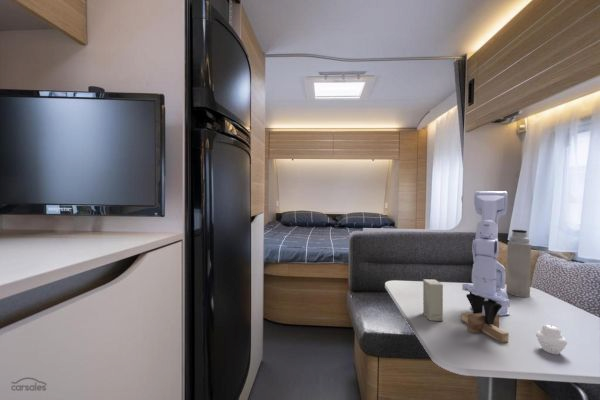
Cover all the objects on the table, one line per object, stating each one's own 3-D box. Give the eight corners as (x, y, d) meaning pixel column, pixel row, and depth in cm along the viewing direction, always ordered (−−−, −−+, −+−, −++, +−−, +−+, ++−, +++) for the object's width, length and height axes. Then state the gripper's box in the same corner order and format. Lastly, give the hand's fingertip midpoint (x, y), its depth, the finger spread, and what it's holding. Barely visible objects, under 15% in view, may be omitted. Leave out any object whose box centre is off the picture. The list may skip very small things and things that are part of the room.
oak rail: (467, 319, 89) (467, 312, 89) (508, 341, 76) (508, 333, 76) (461, 320, 89) (462, 312, 89) (502, 342, 75) (502, 333, 75)
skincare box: (443, 321, 88) (443, 285, 88) (429, 320, 88) (430, 284, 88) (435, 313, 94) (435, 279, 94) (422, 312, 94) (422, 278, 94)
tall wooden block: (493, 327, 84) (494, 311, 84) (499, 330, 82) (499, 314, 82) (467, 330, 82) (467, 314, 82) (472, 333, 80) (472, 316, 80)
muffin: (529, 344, 75) (530, 319, 75) (551, 345, 74) (552, 320, 74) (549, 357, 68) (550, 330, 68) (573, 358, 68) (574, 331, 68)
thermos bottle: (519, 290, 120) (521, 229, 120) (535, 297, 112) (536, 231, 112) (501, 290, 120) (503, 228, 120) (516, 296, 112) (517, 230, 112)
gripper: (455, 271, 88) (454, 311, 88) (496, 285, 74) (495, 333, 74) (472, 270, 90) (471, 310, 90) (516, 284, 76) (514, 331, 76)
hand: (483, 320), depth 82 cm, fingers open, 3 cm apart
